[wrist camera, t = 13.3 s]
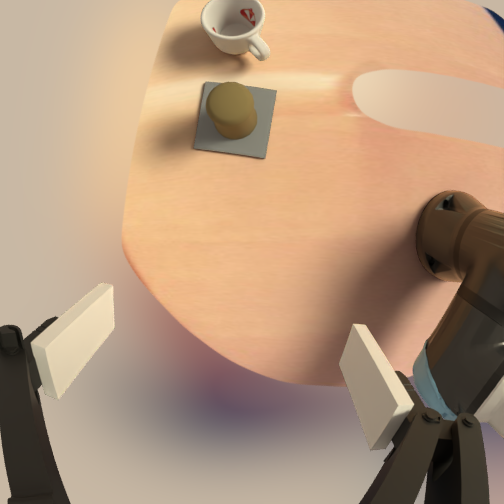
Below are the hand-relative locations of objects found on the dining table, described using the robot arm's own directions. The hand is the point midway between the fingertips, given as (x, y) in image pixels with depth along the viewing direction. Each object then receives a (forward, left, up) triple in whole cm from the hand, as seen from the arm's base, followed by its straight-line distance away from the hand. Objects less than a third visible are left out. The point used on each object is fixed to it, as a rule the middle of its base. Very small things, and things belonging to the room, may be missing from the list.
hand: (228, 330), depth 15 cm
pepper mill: (+4, -15, -28) cm, 32 cm away
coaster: (+4, -15, -29) cm, 33 cm away
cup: (+5, -27, -29) cm, 40 cm away
